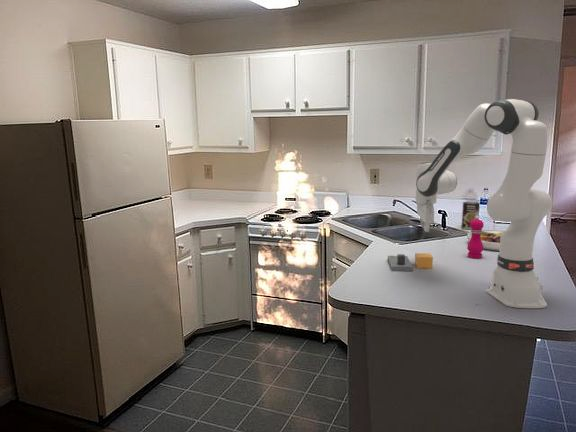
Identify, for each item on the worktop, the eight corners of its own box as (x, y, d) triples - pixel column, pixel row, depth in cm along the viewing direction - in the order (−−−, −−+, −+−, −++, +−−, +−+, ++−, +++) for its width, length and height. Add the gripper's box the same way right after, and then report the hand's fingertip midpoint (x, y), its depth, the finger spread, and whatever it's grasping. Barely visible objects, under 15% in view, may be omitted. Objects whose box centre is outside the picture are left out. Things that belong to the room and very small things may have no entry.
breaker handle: (404, 264, 205) (405, 256, 204) (397, 263, 205) (398, 256, 205) (403, 262, 208) (404, 254, 207) (397, 262, 208) (397, 254, 208)
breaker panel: (412, 271, 202) (412, 265, 202) (391, 270, 203) (391, 264, 203) (406, 260, 219) (407, 254, 218) (387, 259, 220) (387, 254, 219)
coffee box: (461, 229, 279) (463, 203, 276) (461, 227, 285) (462, 201, 282) (478, 230, 276) (479, 203, 273) (477, 228, 282) (478, 202, 279)
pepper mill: (484, 259, 218) (487, 217, 214) (468, 258, 220) (470, 217, 216) (481, 255, 225) (483, 214, 221) (465, 254, 227) (467, 214, 223)
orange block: (432, 268, 206) (432, 257, 205) (417, 268, 207) (417, 257, 206) (429, 263, 212) (429, 253, 212) (414, 263, 213) (415, 253, 212)
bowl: (465, 237, 261) (466, 223, 260) (524, 240, 252) (525, 226, 251) (468, 251, 233) (469, 235, 232) (534, 255, 224) (536, 239, 223)
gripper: (438, 202, 193) (436, 234, 196) (428, 195, 213) (427, 224, 216) (422, 202, 194) (421, 234, 196) (414, 195, 214) (413, 224, 216)
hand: (424, 229), depth 206 cm, fingers open, 7 cm apart
